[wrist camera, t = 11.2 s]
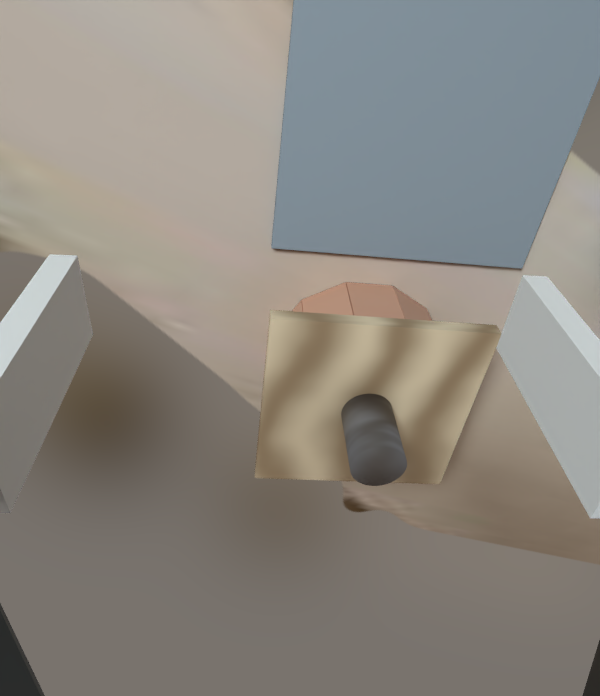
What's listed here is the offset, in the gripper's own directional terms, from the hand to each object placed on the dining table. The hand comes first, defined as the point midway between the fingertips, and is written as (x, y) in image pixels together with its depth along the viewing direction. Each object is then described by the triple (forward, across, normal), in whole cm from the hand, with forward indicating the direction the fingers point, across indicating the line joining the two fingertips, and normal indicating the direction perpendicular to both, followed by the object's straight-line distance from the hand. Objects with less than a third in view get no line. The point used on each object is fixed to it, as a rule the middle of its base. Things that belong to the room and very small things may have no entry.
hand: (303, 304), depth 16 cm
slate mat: (+28, +11, -1) cm, 30 cm away
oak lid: (+20, +8, -23) cm, 32 cm away
